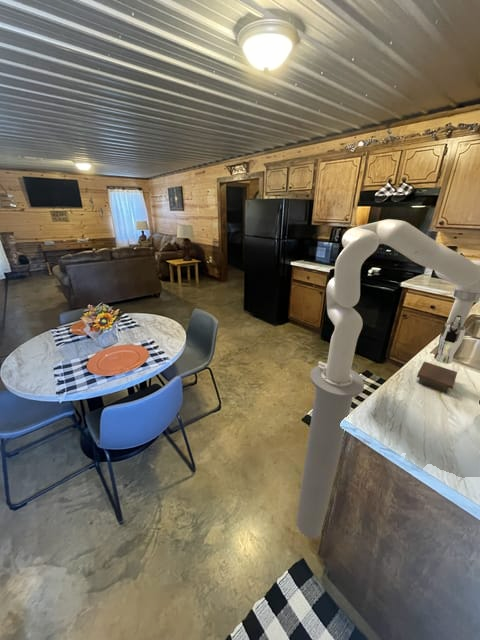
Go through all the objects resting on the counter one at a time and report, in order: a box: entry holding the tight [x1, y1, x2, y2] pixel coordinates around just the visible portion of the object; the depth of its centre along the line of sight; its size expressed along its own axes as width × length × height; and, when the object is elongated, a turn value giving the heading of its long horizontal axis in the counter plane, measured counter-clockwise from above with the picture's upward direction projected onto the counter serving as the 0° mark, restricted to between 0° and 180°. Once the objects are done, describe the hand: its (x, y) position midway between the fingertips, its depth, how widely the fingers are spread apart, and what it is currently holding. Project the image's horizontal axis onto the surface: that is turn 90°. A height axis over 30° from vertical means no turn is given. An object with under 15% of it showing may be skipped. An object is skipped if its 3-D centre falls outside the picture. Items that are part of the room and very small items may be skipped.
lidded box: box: [416, 361, 458, 394], centre depth 110 cm, size 12×13×4 cm
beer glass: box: [433, 322, 467, 365], centre depth 104 cm, size 7×7×15 cm
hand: (450, 337), depth 103 cm, fingers closed on beer glass, 7 cm apart
